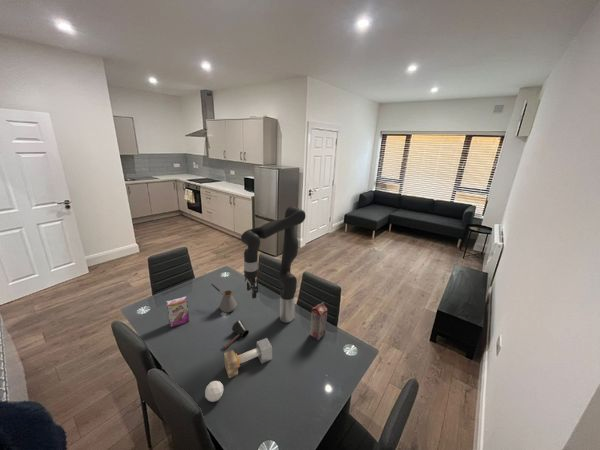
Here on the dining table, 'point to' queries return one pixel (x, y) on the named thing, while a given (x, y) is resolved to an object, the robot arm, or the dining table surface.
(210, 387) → the geometric ball
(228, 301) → the coffee pot
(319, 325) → the juice carton
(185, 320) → the candy bar box
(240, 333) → the coffee pot
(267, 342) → the grey block
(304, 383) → the dining table surface
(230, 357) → the socket
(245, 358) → the tube
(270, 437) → the dining table surface
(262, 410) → the dining table surface
